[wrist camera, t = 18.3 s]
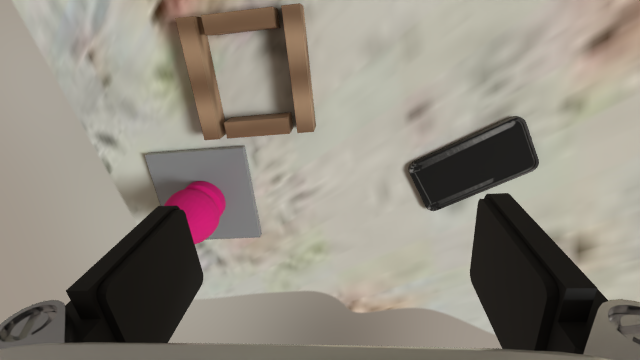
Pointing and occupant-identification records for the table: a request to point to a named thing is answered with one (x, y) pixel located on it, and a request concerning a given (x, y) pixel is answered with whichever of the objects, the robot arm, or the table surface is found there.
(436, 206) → the phone
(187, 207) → the pepper mill
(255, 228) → the slate tile
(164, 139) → the table surface
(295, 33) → the collar
